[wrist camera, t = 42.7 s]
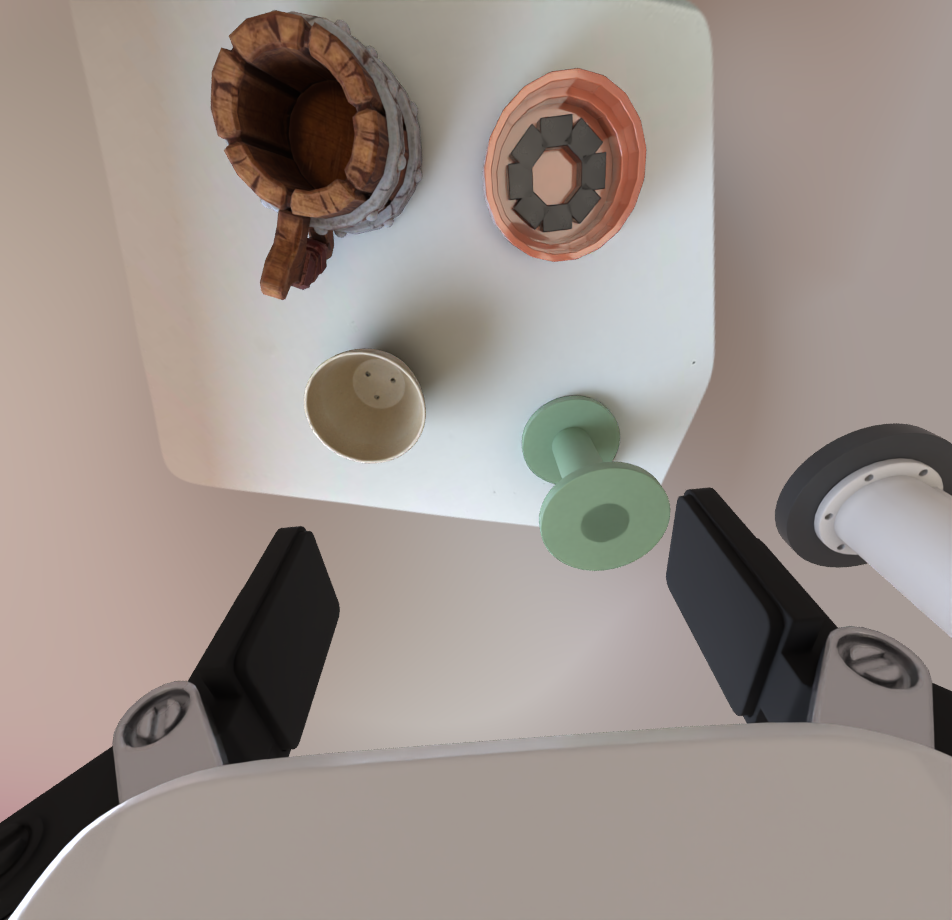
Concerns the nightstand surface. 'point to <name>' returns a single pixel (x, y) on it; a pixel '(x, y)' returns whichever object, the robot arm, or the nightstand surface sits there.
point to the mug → (314, 136)
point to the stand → (591, 487)
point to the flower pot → (365, 405)
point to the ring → (589, 172)
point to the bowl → (567, 162)
